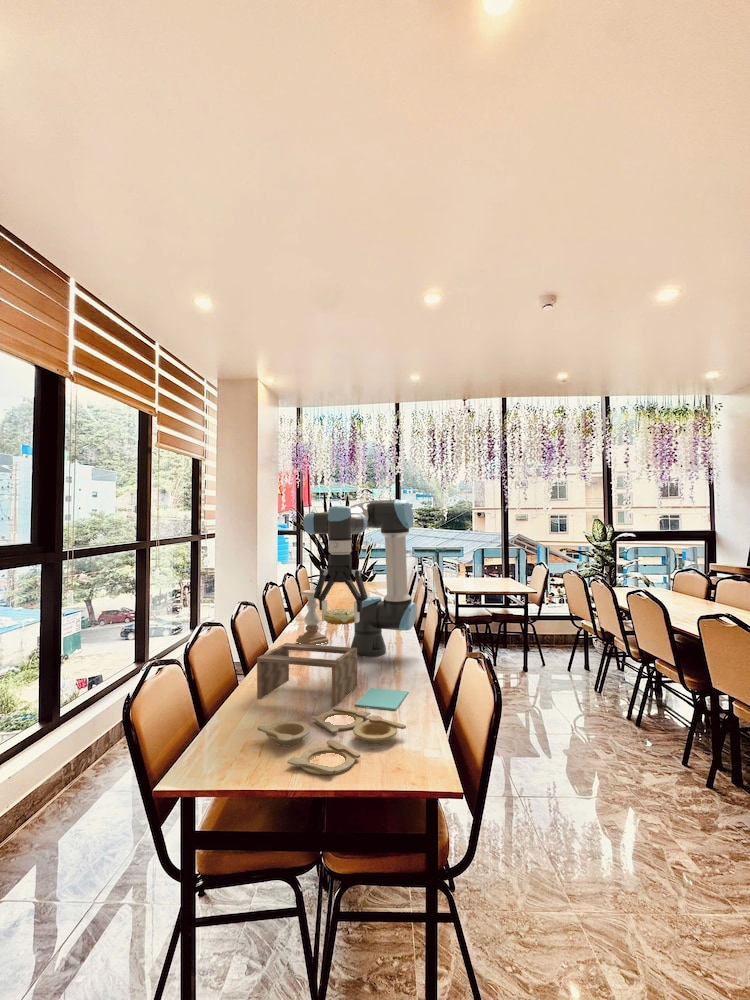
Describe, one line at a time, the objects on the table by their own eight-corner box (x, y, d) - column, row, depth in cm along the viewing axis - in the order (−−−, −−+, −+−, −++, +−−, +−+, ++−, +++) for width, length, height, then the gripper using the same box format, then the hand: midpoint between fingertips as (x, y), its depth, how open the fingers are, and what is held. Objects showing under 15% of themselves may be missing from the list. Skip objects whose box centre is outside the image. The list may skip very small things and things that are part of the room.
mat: (370, 689, 175) (370, 687, 175) (408, 693, 171) (408, 691, 171) (354, 706, 160) (354, 704, 160) (396, 710, 156) (395, 708, 156)
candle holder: (295, 643, 240) (295, 591, 241) (314, 639, 248) (314, 588, 248) (309, 647, 232) (309, 593, 233) (329, 643, 240) (328, 590, 240)
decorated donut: (349, 626, 163) (348, 614, 163) (318, 624, 167) (318, 612, 167) (362, 620, 173) (361, 608, 173) (332, 618, 177) (332, 607, 177)
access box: (285, 679, 186) (285, 643, 187) (357, 686, 178) (356, 647, 179) (257, 698, 167) (257, 657, 168) (335, 706, 159) (335, 663, 160)
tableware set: (319, 787, 113) (319, 768, 113) (243, 747, 133) (243, 731, 133) (419, 736, 139) (419, 720, 139) (343, 709, 159) (343, 695, 159)
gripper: (302, 553, 171) (303, 621, 170) (369, 554, 163) (370, 625, 163) (312, 552, 178) (313, 617, 177) (377, 553, 170) (378, 620, 170)
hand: (340, 621), depth 170 cm, fingers closed on decorated donut, 11 cm apart
